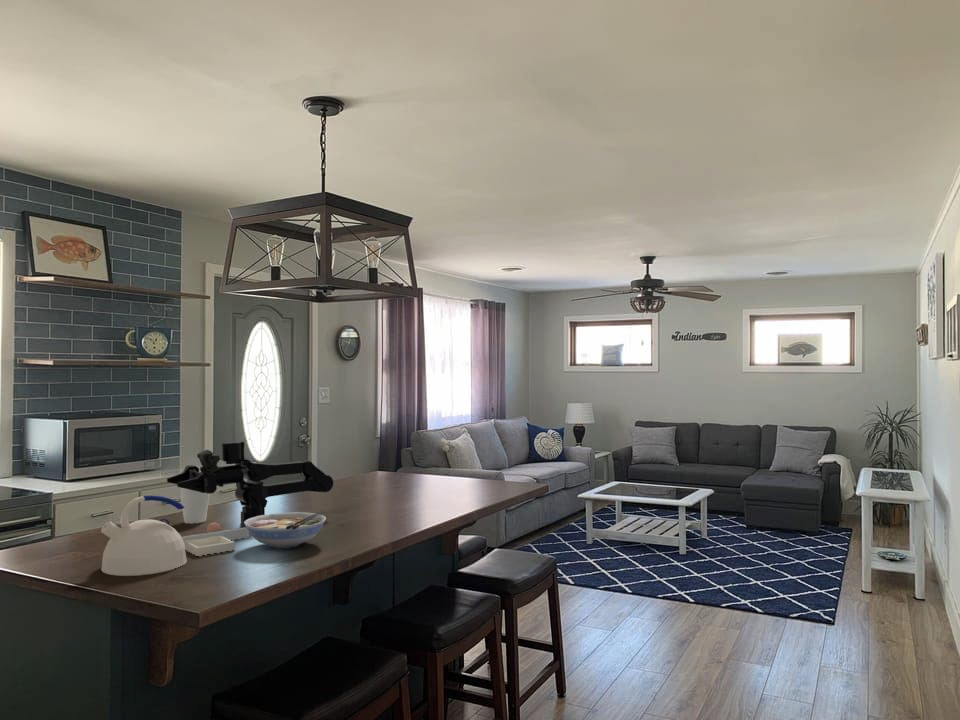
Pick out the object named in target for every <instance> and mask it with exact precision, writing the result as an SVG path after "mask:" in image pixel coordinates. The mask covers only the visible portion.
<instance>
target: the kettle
mask: <svg viewBox="0 0 960 720" xmlns="http://www.w3.org/2000/svg"><path fill="white" fill-rule="evenodd" d="M145 501H156V502H161V503H165V504H168V505H171V506H172V507H175V509H177V510H182V509H183V508H184V506H183V505H182V503H181V502H178V501H177V500H174V499H171V498H169V497H165V496H162V495H142V496H139V497H135V498H133V499H132V500H130V501H129V502H127V504H126V505H125V506H124V508H123V509H122V512H121V515H120V527H119V526H117V525H116V524H114V523H113V522H112V521H107V522H105V524H104V525H103V526H102V527H101V530H100V532H101V534H104V535H105V536H106V537H108V538H109V540H108V541H107V543H106V546H105V548H104V550H103V554H102V560H101V561H102V562H101V569H100V571H102V573H104V574H107V575H111V576H117V577H133V576H135V577H136V576H137V577H138V576H148V575H154V574H161V573H165V572H169V571H172V570H176V569H178V567H179V568H180V566H181V567H182V565H183V566H184V565H185V564H186V563H187V561H188V560H187V553H186V552H187V551H185V544H184V542H183V540H182V537H183V536H182V535H181V534H180V533H179V532H178V531H177V530H176V529H175V528H174V527H172V526H171V525H170V521H169V520H168V519H167V518H161V519H160V520H158V519H157V520H156V519H140V520H135V521H133V522H130V523H129V515H130V511H131V510H132V509H133V507H135V506H136V505H137V504H139V503H141V502H145ZM164 521H165V522H164ZM175 568H176V569H175Z"/></svg>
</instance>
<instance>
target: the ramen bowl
mask: <svg viewBox="0 0 960 720" xmlns="http://www.w3.org/2000/svg"><path fill="white" fill-rule="evenodd" d="M323 512H324V511H322V510H320V511H318V512H316V513H314V512H304V511H303V512H302V511H301V512H295V511H294V512H278V513H277V512H275V513H269V514H265V515H261V516H256V517H253V518H250V519H247V520H246V521H245V522H244V524H245V526H246V528H247V529H248V531H249V535H250V536H252V537H253V539H254V540H256V541H257V542H258V543H262V544H264V545H267V546H271V547H272V548H274V549H280V548H285V549H291V547H293V548H295V547H298V546H300V544H303V543H306V542H308V541H310V540H311V539H313V538H314V537H315V536H316V535H317V534H318V533H319V532H320V530H321V529H322V528H323V526H324V524H325V521H326V520H327V517H326V516H325V515H323V514H321V513H323Z"/></svg>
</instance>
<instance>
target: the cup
mask: <svg viewBox="0 0 960 720" xmlns="http://www.w3.org/2000/svg"><path fill="white" fill-rule="evenodd" d="M179 496H180V504H182V505H183V506H184V508H183V509H181V510H182V516H183V523H185V524H188V523H189V525H190V524H194V523H195V524H201V523H205V522H206V520H207V514H208V507H209V501H210V500H209V499H210V494H207V493H202V492H197V491H193V490H189V489H185V488H181V487H180V494H179Z"/></svg>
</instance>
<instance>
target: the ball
mask: <svg viewBox="0 0 960 720" xmlns="http://www.w3.org/2000/svg"><path fill="white" fill-rule="evenodd" d="M217 531H222V530H221V525H220V524H219V523H218V522H214V521H213V522H211V523H209V524H208V525H207V527H206V533H210V532H217Z"/></svg>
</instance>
